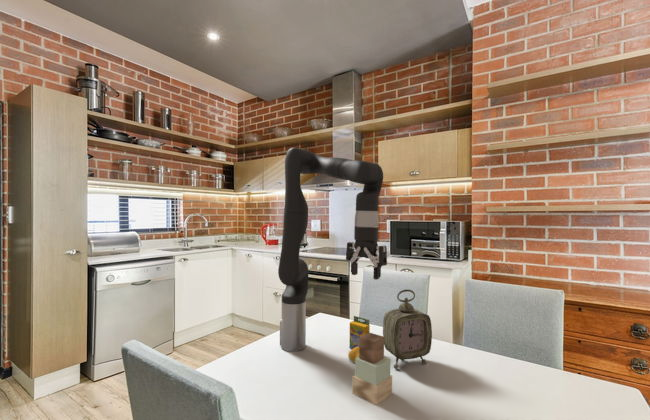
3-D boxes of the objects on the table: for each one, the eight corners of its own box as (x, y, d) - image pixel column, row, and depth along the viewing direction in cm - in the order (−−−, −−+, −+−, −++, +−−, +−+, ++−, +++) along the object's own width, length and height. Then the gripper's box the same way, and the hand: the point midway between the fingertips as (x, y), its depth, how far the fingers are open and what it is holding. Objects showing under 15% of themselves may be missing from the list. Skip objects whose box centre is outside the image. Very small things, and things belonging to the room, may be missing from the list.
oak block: (352, 394, 90) (352, 376, 90) (368, 383, 96) (368, 366, 96) (376, 405, 85) (376, 386, 85) (392, 393, 90) (392, 375, 91)
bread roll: (363, 369, 105) (363, 356, 105) (344, 359, 111) (344, 348, 112) (379, 361, 110) (379, 349, 110) (360, 352, 117) (360, 341, 117)
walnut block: (359, 358, 90) (359, 337, 90) (369, 353, 94) (369, 332, 94) (374, 364, 87) (374, 341, 87) (383, 358, 90) (383, 336, 91)
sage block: (355, 376, 90) (355, 358, 90) (370, 368, 95) (370, 351, 95) (375, 385, 85) (375, 366, 85) (390, 376, 90) (390, 358, 90)
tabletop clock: (394, 372, 102) (394, 294, 102) (380, 360, 110) (380, 288, 111) (432, 366, 107) (431, 290, 107) (415, 354, 115) (415, 285, 116)
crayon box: (349, 348, 120) (349, 317, 121) (353, 345, 123) (353, 315, 123) (365, 353, 116) (365, 321, 116) (369, 351, 118) (369, 319, 118)
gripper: (341, 224, 103) (340, 274, 103) (378, 226, 93) (377, 282, 93) (356, 224, 108) (354, 272, 108) (392, 226, 98) (391, 279, 98)
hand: (365, 276), depth 101 cm, fingers open, 8 cm apart
